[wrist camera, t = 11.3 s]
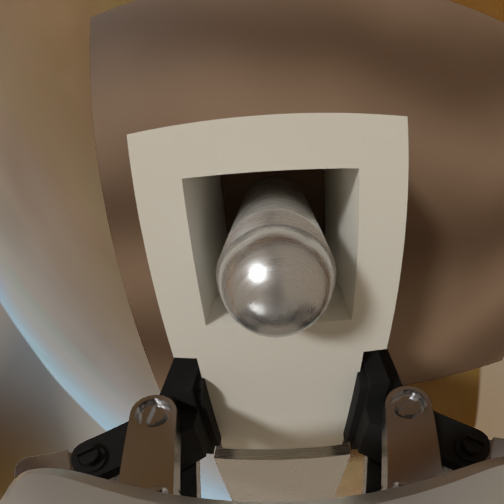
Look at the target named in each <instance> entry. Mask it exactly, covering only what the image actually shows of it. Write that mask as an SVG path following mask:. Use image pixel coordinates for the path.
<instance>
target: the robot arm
mask: <svg viewBox="0 0 504 504" xmlns="http://www.w3.org/2000/svg"><path fill="white" fill-rule="evenodd" d="M343 436H344V441H345V442H350V446H351V450H352V449H358V452H359V453H361V454H363V455H365V457H364V475H363V489H362V494H361V495H354V496H348V497H340V498H332V499H323V500H312V501H296V502H239V501H224V500H212V499H203V498H201V485H200V461H199V460H201V459H202V458H204V457H206V453H209V454H214V448H215V446H220V444H221V438H222V437H221V434H220V431H219V428H218V424H217V421H216V418H215V414H214V411H213V407H212V404H211V400H210V397H209V393H208V390H207V386H206V382H205V378H202V376H201V373H200V369H199V365H198V361H197V358H174V359H173V362H172V364H171V367H170V369H169V372H168V374H167V377H166V380H165V382H164V385H163V387H162V390H161V393H160V395H152V396H147V397H145V398H142V399H141V400H139V401H138V402H136V404H135V405H134V406H133V407H132V410H131V412H130V417H129V421H128V422H126V423H124V424H122V425H120V426H118V427H116V428H113V429H111V430H109V431H107V432H105V433H103V434H101V435H99V436H96V437H94V438H91V439H89V440H87V441H85V442H83V443H81V444H80V445H78V446H77V447H76V448H75V449H74V451H73V452H72V453H70V452H69V451H68V450H66V451H61V452H56V453H51V454H45V455H39V456H33V457H27V458H24V459H22V460H20V461H19V462H18V464H17V466H16V468H15V480H14V481H13V482H12V483H11V485H10V486H9V488H8V489H7V491H6V492H5V494H4V496H3V497H2V499H1V501H0V504H504V439H502V438H493V439H492V440H489V439H488V437H487V436H486V435H485V434H484V433H483V432H481V431H480V430H478V429H475V428H473V427H470V426H468V425H466V424H463V423H461V422H458V421H456V420H454V419H451V418H449V417H446V416H444V415H442V414H440V413H437V412H435V411H433V408H432V403H431V400H430V397H429V396H428V395H427V394H426V392H424V391H423V390H421V389H420V388H417V387H413V386H403V385H402V383H401V380H400V378H399V375H398V373H397V370H396V368H395V366H394V363H393V361H392V358H391V356H390V354H389V351H388V349H382V350H374V351H366V352H364V353H363V358H362V363H361V368H360V372H357V376H356V381H355V386H354V391H353V395H352V400H351V404H350V408H349V413H348V417H347V421H346V425H345V428H344V432H343Z"/></svg>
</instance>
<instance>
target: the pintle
mask: <svg viewBox="0 0 504 504" xmlns="http://www.w3.org/2000/svg"><path fill="white" fill-rule="evenodd" d="M336 277H337V276H336V265H335V261H334V258H333V255H332V253H331V250H330V248H329V246H328V244H327V242H326V239H325V237H324V235H323V233H322V231H321V229H320V227H319V224H318V222H317V220H316V218H315V216H314V214H313V212H312V210H311V208H310V206H309V204H308V202H307V200H306V198H305V196H304V194H303V192H302V190H301V188H300V187H299V186H298V185H297V184H296V183H295V182H294V181H292V180H291V179H289V178H287V177H284V176H279V175H270V176H265V177H263V178H260V179H259V180H257V181H255V182H254V183H253V184H252V185H251V186H250V187H249V189H248V190H247V192H246V194H245V197H244V199H243V201H242V204H241V206H240V209H239V211H238V213H237V216H236V218H235V220H234V223H233V225H232V228H231V230H230V232H229V235H228V237H227V240H226V242H225V245H224V247H223V249H222V252H221V254H220V257H219V260H218V263H217V267H216V282H217V287H218V290H219V293H220V296H221V299H222V301H223V304H224V306H225V308H226V310H227V311H228V313H229V314H230V315H231V317H232V318H233V319H234V320H235V321H236V322H237V323H238V324H239V325H241V326H242V327H243V328H245V329H247V330H248V331H250V332H252V333H254V334H257V335H260V336H265V337H271V338H280V337H288V336H292V335H295V334H298V333H300V332H302V331H304V330H306V329H307V328H309V327H310V326H312V325H313V324H314V323H315V322H316V321H317V320H318V319H319V318H320V317H321V316H322V315H323V313H324V312H325V310H326V309H327V307H328V305H329V303H330V300H331V297H332V294H333V291H334V288H335V284H336Z"/></svg>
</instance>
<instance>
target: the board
mask: <svg viewBox="0 0 504 504" xmlns="http://www.w3.org/2000/svg"><path fill="white" fill-rule="evenodd" d="M90 81H91V100H92V114H93V125H94V135H95V144H96V152H97V159H98V166H99V173H100V179H101V186H102V191H103V197H104V203H105V208H106V213H107V218H108V223H109V227H110V232H111V237H112V241H113V245H114V249H115V254H116V258H117V262H118V266H119V269H120V273H121V277H122V281H123V284H124V288H125V291H126V295H127V298H128V301H129V305H130V308H131V311H132V314H133V318H134V321H135V324H136V327H137V330H138V333H139V336H140V339H141V342H142V345H143V347H144V350H145V353H146V356H147V358H148V361H149V364H150V366H151V369H152V372H153V374H154V377H155V379H156V382H157V384H158V387H159V389H160V392H161V390H162V387H163V385H164V382H165V380H166V377H167V374H168V372H169V369H170V367H171V364H172V362H173V359H174V357H173V354H172V351H171V347H170V344H169V341H168V337H167V334H166V330H165V327H164V323H163V320H162V316H161V312H160V309H159V305H158V301H157V297H156V293H155V289H154V285H153V281H152V277H151V273H150V268H149V264H148V260H147V255H146V250H145V246H144V241H143V236H142V231H141V226H140V221H139V215H138V210H137V204H136V198H135V192H134V186H133V180H132V173H131V166H130V158H129V151H128V143H127V134H131V133H136V132H141V131H146V130H151V129H156V128H162V127H168V126H173V125H180V124H186V123H193V122H200V121H207V120H215V119H224V118H234V117H244V116H256V115H271V114H291V113H362V114H382V115H396V116H407V117H408V149H409V167H408V200H407V216H406V229H405V240H404V250H403V258H402V266H401V274H400V281H399V287H398V294H397V300H396V305H395V311H394V316H393V322H392V327H391V331H390V336H389V341H388V345H387V349H388V351H389V354H390V356H391V358H392V361H393V363H394V366H395V368H396V370H397V373H398V375H399V378H400V380H401V383H402V385H408V384H413V383H418V382H423V381H428V380H433V379H437V378H441V377H445V376H449V375H453V374H457V373H461V372H465V371H468V370H472V369H475V368H479V367H482V366H485V365H489V364H492V363H495V362H498V361H501V360H502V359H503V357H504V23H503V22H501V21H499V20H497V19H495V18H492V17H490V16H488V15H486V14H483V13H481V12H478V11H476V10H473V9H471V8H468V7H465V6H463V5H460V4H457V3H454V2H451V1H448V0H137V1H134V2H131V3H128V4H125V5H122V6H119V7H116V8H114V9H111V10H108V11H106V12H103V13H101V14H98V15H96V16H93V17H91V22H90ZM270 175H279V176H284V177H287V178H289V179H291V180H292V181H294V182H295V183H296V184H297V185H298V186H299V187H300V188H301V190H302V192H303V194H304V196H305V198H306V200H307V202H308V204H309V206H310V208H311V210H312V212H313V214H314V216H315V218H316V220H317V222H318V224H319V227H320V229H321V231H322V233H323V235H324V237H325V183H324V169H300V170H279V171H262V172H248V173H235V174H223V175H221V184H222V194H223V203H224V212H225V221H226V230H227V237H228V235H229V232H230V230H231V228H232V225H233V223H234V220H235V218H236V216H237V213H238V211H239V209H240V206H241V204H242V201H243V199H244V197H245V194H246V192H247V190H248V189H249V187H250V186H251V185H252V184H253V183H254V182H255V181H257V180H259V179H260V178H263V177H265V176H270Z"/></svg>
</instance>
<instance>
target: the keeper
mask: <svg viewBox="0 0 504 504" xmlns="http://www.w3.org/2000/svg"><path fill="white" fill-rule="evenodd" d="M350 455H351V452H350V446H349V442H345V441H344V439H343V443H342V445H333V446H323V447H311V448H295V449H227V448H223V447H222V443H221V444H220V446H216V451H215V456H214V459H215V462H216V464H217V466H218V469H219V471H220V474H221V476H222V478H223V481H224V483H225V485H226V488H227V490H228V492H229V494H230V497H231V499H232V501H239V502H296V501H312V500H323V499H332V498H333V497H334V495H335V492H336V490H337V488H338V485H339V483H340V481H341V478H342V476H343V473H344V471H345V468H346V466H347V463H348V460H349V458H350Z"/></svg>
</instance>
